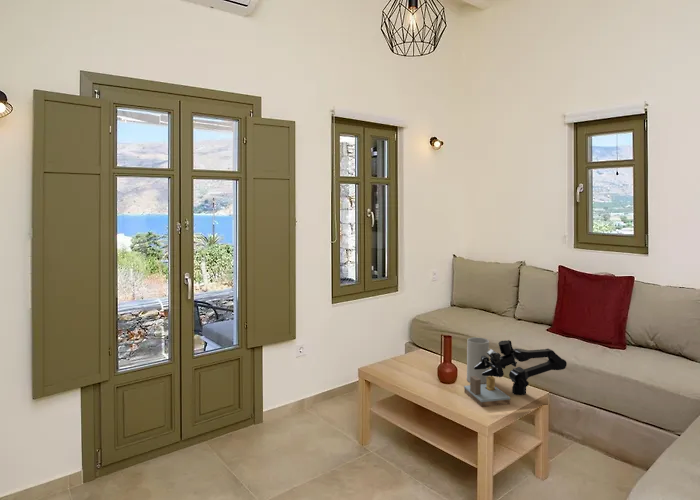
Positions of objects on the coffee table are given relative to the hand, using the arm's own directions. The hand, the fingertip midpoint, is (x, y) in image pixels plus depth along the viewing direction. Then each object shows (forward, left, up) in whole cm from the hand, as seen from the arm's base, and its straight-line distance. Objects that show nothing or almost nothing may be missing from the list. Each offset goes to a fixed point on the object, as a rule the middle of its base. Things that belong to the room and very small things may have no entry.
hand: (478, 371), depth 257 cm
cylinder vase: (-12, -24, -15) cm, 31 cm away
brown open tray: (-4, +2, -15) cm, 16 cm away
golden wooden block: (-8, -1, -14) cm, 16 cm away
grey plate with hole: (-4, +2, -12) cm, 12 cm away
